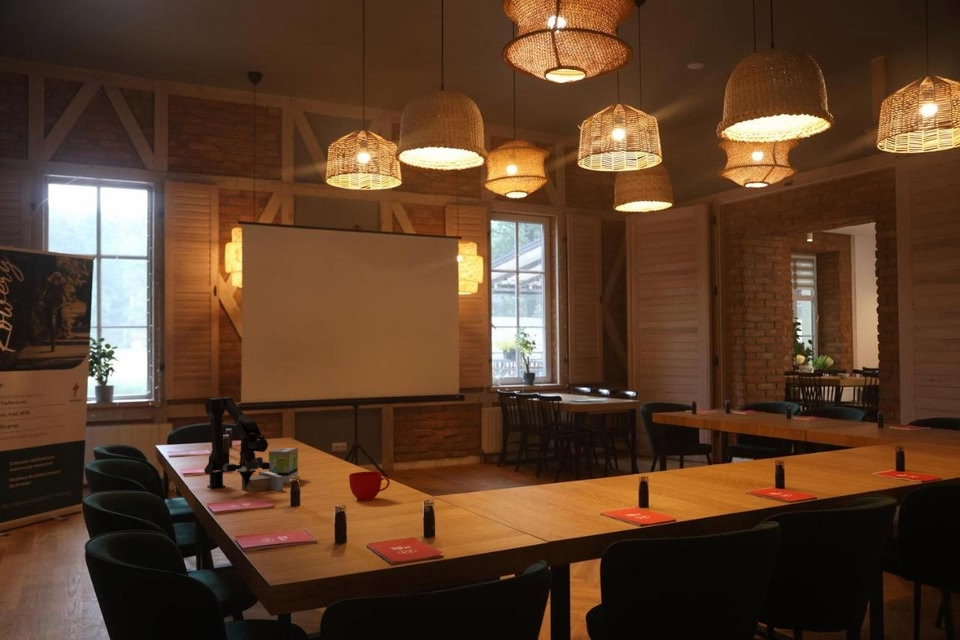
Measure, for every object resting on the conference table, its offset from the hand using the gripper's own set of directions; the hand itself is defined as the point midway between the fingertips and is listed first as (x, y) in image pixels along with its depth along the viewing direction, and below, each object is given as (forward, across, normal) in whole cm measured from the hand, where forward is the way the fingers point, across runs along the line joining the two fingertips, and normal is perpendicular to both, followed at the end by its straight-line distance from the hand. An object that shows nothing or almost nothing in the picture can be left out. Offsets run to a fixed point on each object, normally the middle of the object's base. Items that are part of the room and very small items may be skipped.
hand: (245, 486), depth 327 cm
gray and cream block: (+2, +12, +3) cm, 13 cm away
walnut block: (+2, +6, +3) cm, 7 cm away
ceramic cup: (0, +32, -53) cm, 62 cm away
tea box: (+2, +23, +16) cm, 28 cm away
